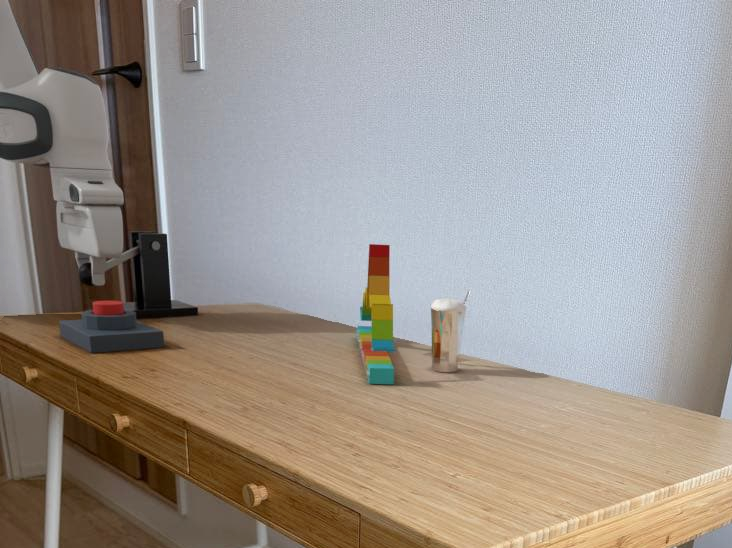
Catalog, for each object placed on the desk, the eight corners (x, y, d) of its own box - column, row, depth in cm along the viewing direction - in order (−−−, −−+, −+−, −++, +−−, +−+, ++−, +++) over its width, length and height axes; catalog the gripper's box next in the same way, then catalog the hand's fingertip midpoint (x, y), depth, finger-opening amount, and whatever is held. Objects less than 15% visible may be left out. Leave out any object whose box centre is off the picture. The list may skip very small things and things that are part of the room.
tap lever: (89, 291, 131) (77, 270, 129) (82, 288, 134) (70, 267, 132) (165, 252, 136) (155, 230, 134) (156, 250, 139) (146, 229, 137)
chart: (355, 338, 127) (357, 234, 121) (376, 339, 128) (379, 235, 122) (367, 384, 100) (371, 252, 94) (393, 384, 100) (399, 253, 94)
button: (89, 314, 115) (88, 301, 114) (118, 312, 117) (117, 299, 117) (99, 318, 112) (98, 305, 111) (128, 316, 114) (127, 303, 114)
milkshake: (473, 371, 109) (479, 293, 105) (439, 374, 106) (443, 294, 102) (454, 365, 112) (460, 288, 108) (420, 367, 110) (425, 289, 106)
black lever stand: (128, 319, 134) (121, 234, 129) (109, 311, 140) (101, 230, 135) (198, 315, 141) (194, 234, 136) (176, 307, 147) (171, 230, 142)
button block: (60, 336, 118) (57, 307, 116) (129, 331, 124) (127, 304, 122) (91, 353, 109) (88, 322, 107) (164, 347, 114) (162, 317, 113)
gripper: (42, 186, 133) (53, 276, 139) (84, 191, 118) (94, 291, 124) (82, 187, 137) (91, 275, 142) (127, 192, 122) (135, 290, 127)
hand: (93, 283), depth 133 cm, fingers closed on tap lever, 3 cm apart
